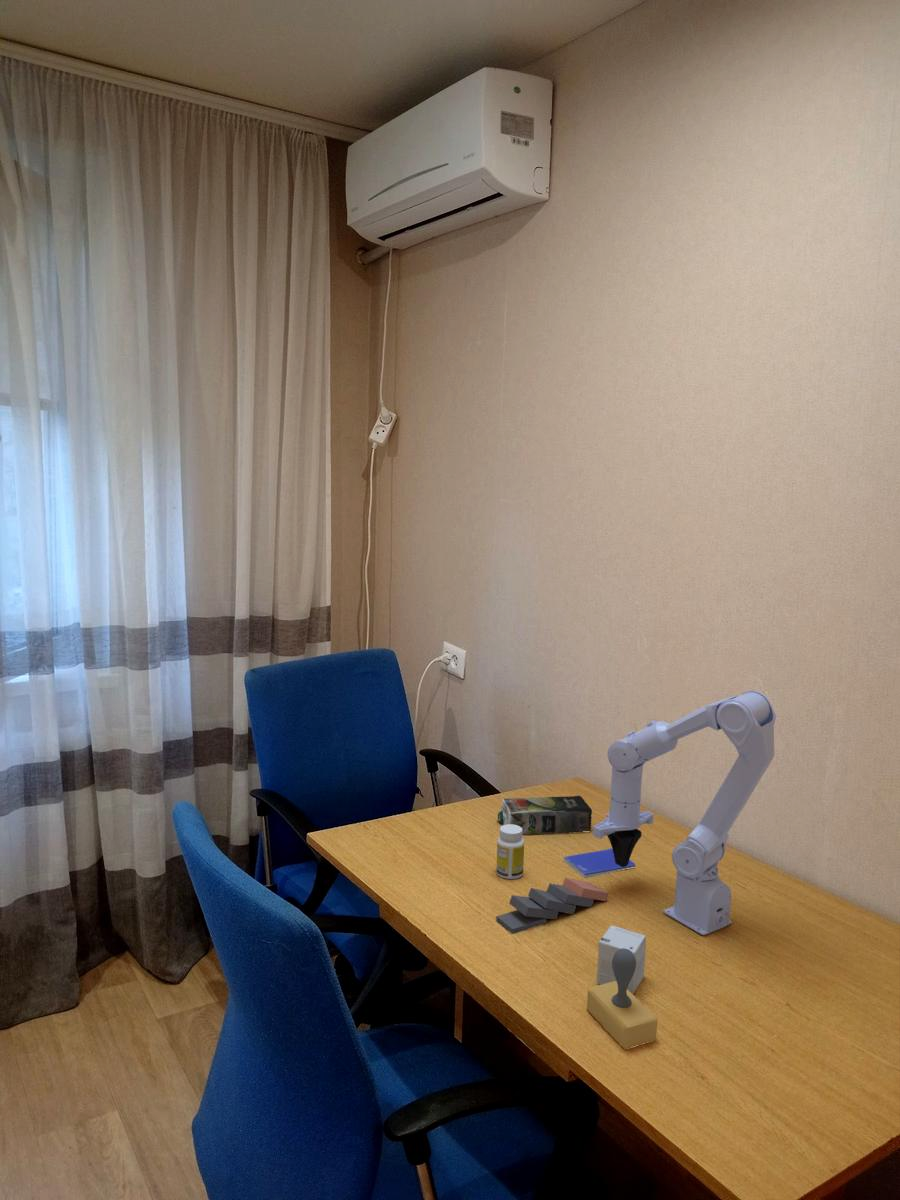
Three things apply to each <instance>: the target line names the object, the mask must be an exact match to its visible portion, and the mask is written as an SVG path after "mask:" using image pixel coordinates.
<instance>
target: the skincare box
mask: <svg viewBox="0 0 900 1200" xmlns="http://www.w3.org/2000/svg"><path fill="white" fill-rule="evenodd" d="M646 943H647V935H645V934H641V933H638V932H635V931H631V930H628V929H625V928H622V927H618V926H615V925H610V926H609V928H608V929H607V931H606V932H605V933H604V934H603V936H601V938H600V940H598V953H597V955H598V956H597V977H596V979H597V982H596V983H597V984H598V985H602V984H605V983H609V982H613V981H616V978H615V975H614V972H613V968H612V960H613V956H614V954H615V952H616V951H617V950H619V949H622V948H625V949H628V950H630V951H631V952H632V953H633V955H634V956H635V959H636V969H635V972H634V975H633V977H632V979H631V981H630V983H629V985H628V987H627V989H628V990H629V991H630V992H631V993H632V994H633V995H634V993H635V992H636V990H637V988H638V987H639V985H640V984H641V983H642V980H643V979H644V978H645V965H646V964H645V963H646V949H647V948H646V946H647V944H646Z"/></svg>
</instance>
